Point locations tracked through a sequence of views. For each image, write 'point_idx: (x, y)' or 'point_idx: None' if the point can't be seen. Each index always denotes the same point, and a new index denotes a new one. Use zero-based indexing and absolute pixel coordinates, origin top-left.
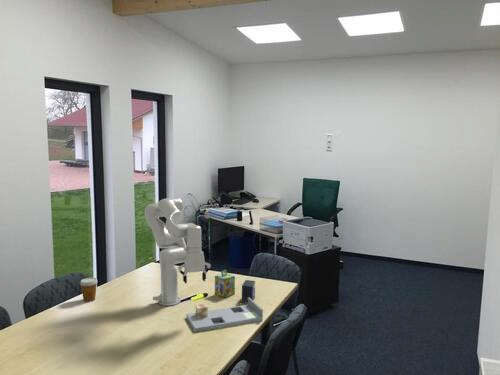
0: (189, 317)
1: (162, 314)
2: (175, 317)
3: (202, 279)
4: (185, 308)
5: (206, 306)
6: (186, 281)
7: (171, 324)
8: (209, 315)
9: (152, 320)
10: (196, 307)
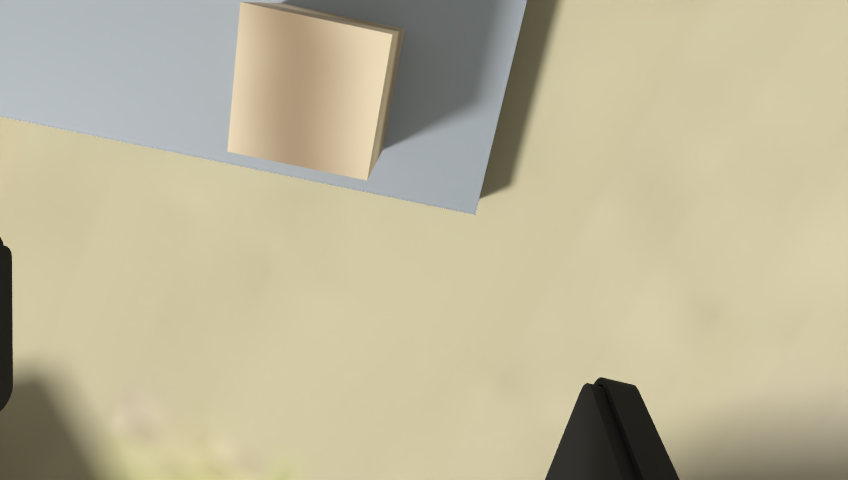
0: (490, 104)
1: None
2: (568, 270)
3: (3, 397)
4: (379, 405)
5: (244, 39)
6: (612, 416)
7: (695, 133)
8: None
9: (797, 330)
10: (377, 129)
